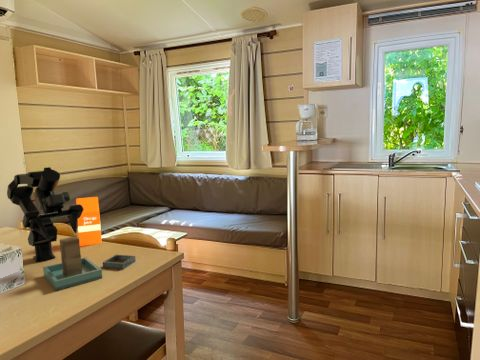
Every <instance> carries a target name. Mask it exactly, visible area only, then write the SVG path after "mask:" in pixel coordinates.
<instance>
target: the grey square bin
mask: <svg viewBox="0 0 480 360" xmlns="http://www.w3.org/2000/svg"><path fill="white" fill-rule="evenodd" d="M117 261H118V262H117ZM135 262H136V255H127V254H115V255H113V256H111V257H109V258H107V259H106V260H104V261H102V268H103V269H113V270H114V269H115V270H125V269H126V268H127V267H128V268H129V266H131V265H132V264H133V263H135Z"/></svg>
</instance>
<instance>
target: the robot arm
mask: <svg viewBox="0 0 480 360" xmlns="http://www.w3.org/2000/svg"><path fill="white" fill-rule="evenodd" d="M13 177H14V178H13V180H12V181H11V182H10V183H9V184H8V185H7V190H6V195H7V199H8V200H10V201H11V203H12V204H14V205H16V206H19V207H20V210H21V211H22V212H23V214H24V215H23V218H22V225H23V228H26V229H28V228H29V230H30V231H29V234H28V237H27V241H28V245H30V246H31V247H34V252H35V253H34V254H35V256H32V257H33V259H34V261H36V263H37V262H42V261H47V260H52V259H55V258H56V256H55V254H53V247H52V246H53V245H52V243H53V242H57V239H58V229H57V226H56V225H55V224H54V222H52V219H56V218H60V217H61V218H62V217H67V218H68V222H69V224H70V227H71V229H72V231H73V232H74V234H76V233H77V232H78V218H80V216H81V214H82V212H83V210H84V209H83V206H82V205H80V204H77V203H76V204H72V205H69V207H68V209H64V207H65V206H64V204H65V203H67V202H69V201H70V200H71V197H70V194H69V192H68V191H63V192H61V193H59V194H57V193H55V190H56V189H57V187H58V184H59V182H60V179H61V175H60V172H58V171H56V170H55V169H52V168H51V167H49V166H48V167H44V168H43V170H39V171H29V172H26V173H20V174H15V175H14V176H13ZM19 185H22V186H19ZM34 188H35V190H34ZM33 193H35V198H37V200H38V203H39V205H40V206H39V209H40V210H41V211H42V213H40V211H39V209H38V207H37V206H36V204H35V203H34V201H33V200H32V196H33ZM63 209H64V210H63Z"/></svg>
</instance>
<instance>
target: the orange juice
mask: <svg viewBox="0 0 480 360" xmlns="http://www.w3.org/2000/svg"><path fill="white" fill-rule="evenodd" d="M75 203H76V205H77V204H80V205H82V206H83V209H84V210H83V212H82V214H81V216H80V218H78V220H77V232H78V239H79V243H80V247H83V246H90V245H99V244H102V243H103V242H102V229H101V226H102V225H101V217H100V207H99V197H98V196H91V197H79V198H76V199H75Z"/></svg>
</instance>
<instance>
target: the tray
mask: <svg viewBox="0 0 480 360" xmlns="http://www.w3.org/2000/svg"><path fill="white" fill-rule="evenodd" d="M81 265H82V274H78V275H74V276H70V277H66V276H65V275H63V269H62V262H60V263H59V262H58V263H55V264H51V265H46V266H43V267H42V269H43V270H42V271H43V276H44V278H45V279H46V280H47V281H48V283H49V284H50V285H51V287H52V288H53V290H54V291H55V292H58V291H61V290H65V289H68V288H73V287H75V286H78V285H79V286H80V285H83V284H87V283H89V282H93V281H97V280H101V279H103V270H102V268H100V267H99V266H98V265H97V264H95V262H94V261H92V260H91V259H90V258H88V257H87V256H85V257H81Z"/></svg>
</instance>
